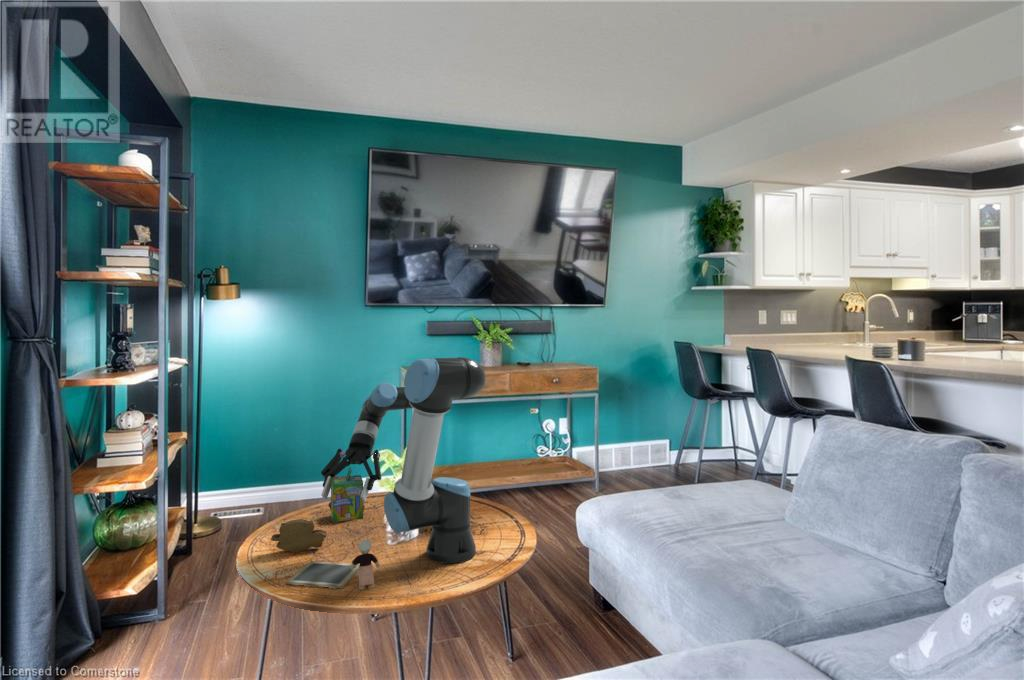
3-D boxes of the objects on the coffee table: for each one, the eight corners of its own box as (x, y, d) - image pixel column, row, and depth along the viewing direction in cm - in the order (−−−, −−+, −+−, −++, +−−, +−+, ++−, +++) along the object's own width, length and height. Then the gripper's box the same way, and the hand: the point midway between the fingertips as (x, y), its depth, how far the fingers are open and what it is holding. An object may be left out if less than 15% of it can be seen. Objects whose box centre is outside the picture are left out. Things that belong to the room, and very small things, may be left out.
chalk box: (330, 513, 179) (330, 466, 179) (360, 510, 182) (360, 464, 182) (332, 523, 170) (331, 473, 170) (363, 519, 173) (363, 470, 173)
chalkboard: (362, 567, 168) (362, 564, 168) (341, 588, 154) (341, 585, 154) (311, 563, 171) (311, 561, 171) (285, 584, 157) (285, 581, 157)
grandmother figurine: (377, 581, 159) (376, 536, 159) (380, 587, 155) (380, 540, 155) (348, 587, 155) (348, 540, 155) (352, 593, 152) (351, 545, 152)
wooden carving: (326, 544, 186) (326, 514, 185) (326, 550, 181) (326, 518, 181) (271, 551, 180) (271, 519, 180) (270, 556, 176) (269, 524, 176)
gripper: (401, 445, 189) (384, 506, 174) (333, 443, 193) (310, 502, 178) (396, 432, 184) (377, 493, 169) (325, 430, 187) (301, 490, 173)
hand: (343, 498), depth 173 cm, fingers closed on chalk box, 12 cm apart
